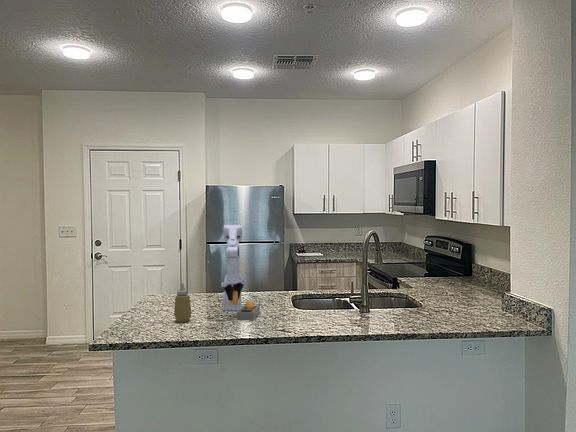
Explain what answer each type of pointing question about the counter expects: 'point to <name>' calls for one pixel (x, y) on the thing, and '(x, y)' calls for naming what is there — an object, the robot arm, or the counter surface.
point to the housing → (248, 311)
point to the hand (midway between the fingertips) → (233, 299)
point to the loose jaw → (234, 298)
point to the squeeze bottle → (182, 305)
